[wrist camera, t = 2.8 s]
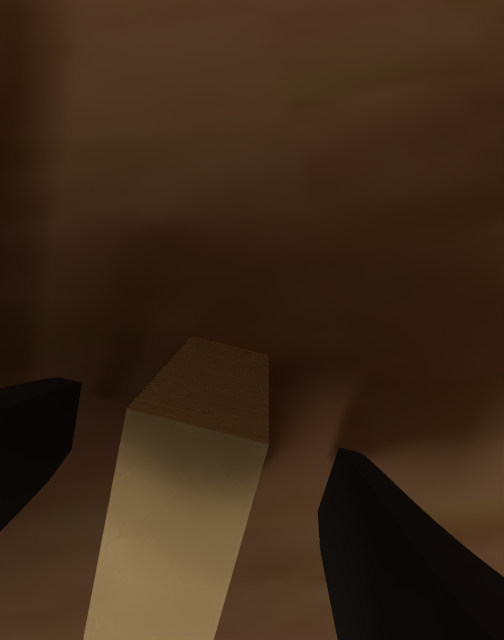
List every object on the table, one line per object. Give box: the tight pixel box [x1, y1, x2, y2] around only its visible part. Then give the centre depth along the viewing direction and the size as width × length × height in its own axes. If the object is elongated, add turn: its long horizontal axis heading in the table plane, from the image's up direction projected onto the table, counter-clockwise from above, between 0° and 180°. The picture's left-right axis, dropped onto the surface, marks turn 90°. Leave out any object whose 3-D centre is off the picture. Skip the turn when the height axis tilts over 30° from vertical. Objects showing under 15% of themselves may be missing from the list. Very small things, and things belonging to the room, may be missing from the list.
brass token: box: [83, 336, 269, 640], centre depth 9 cm, size 5×2×5 cm, turn 166°
